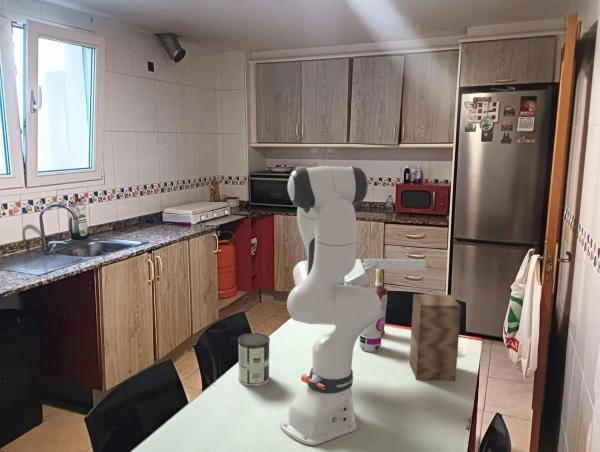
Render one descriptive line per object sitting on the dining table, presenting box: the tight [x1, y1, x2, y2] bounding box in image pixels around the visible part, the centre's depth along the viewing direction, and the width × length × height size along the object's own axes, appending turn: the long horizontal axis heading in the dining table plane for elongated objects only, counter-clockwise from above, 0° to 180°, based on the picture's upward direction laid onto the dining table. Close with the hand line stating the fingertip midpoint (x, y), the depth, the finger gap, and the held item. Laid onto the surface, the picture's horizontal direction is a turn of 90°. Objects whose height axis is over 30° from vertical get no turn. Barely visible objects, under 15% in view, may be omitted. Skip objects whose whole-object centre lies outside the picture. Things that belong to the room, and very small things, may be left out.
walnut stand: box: [409, 293, 462, 382], centre depth 170 cm, size 13×12×26 cm
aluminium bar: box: [363, 257, 427, 271], centre depth 167 cm, size 20×3×3 cm, turn 89°
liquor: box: [370, 269, 389, 336], centre depth 203 cm, size 7×7×28 cm
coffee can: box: [237, 332, 271, 387], centre depth 164 cm, size 10×10×14 cm
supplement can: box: [358, 311, 383, 353], centre depth 191 cm, size 8×8×15 cm
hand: (377, 262), depth 167 cm, fingers closed on aluminium bar, 3 cm apart
